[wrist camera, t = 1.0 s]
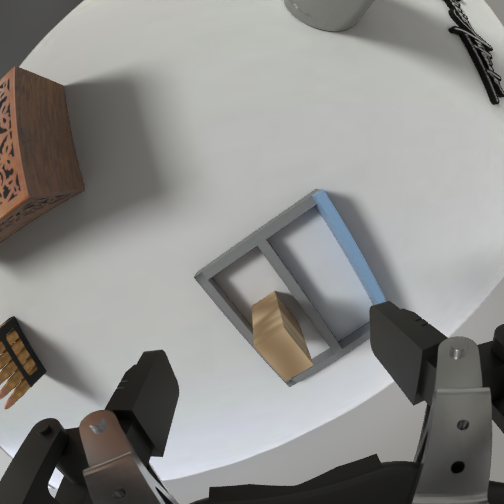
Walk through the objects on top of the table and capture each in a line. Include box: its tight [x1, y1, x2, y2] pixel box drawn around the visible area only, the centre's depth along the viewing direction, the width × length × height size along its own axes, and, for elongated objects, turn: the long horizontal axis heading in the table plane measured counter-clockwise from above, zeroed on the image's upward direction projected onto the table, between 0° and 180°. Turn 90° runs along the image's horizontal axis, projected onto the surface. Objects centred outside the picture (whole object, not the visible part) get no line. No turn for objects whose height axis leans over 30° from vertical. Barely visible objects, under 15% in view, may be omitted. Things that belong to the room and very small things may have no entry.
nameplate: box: [444, 0, 504, 105], centre depth 20 cm, size 28×2×10 cm
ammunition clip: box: [0, 316, 46, 409], centre depth 26 cm, size 11×2×12 cm, turn 20°
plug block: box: [252, 291, 313, 381], centre depth 26 cm, size 3×5×8 cm, turn 36°
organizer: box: [194, 189, 386, 387], centre depth 28 cm, size 15×18×3 cm
